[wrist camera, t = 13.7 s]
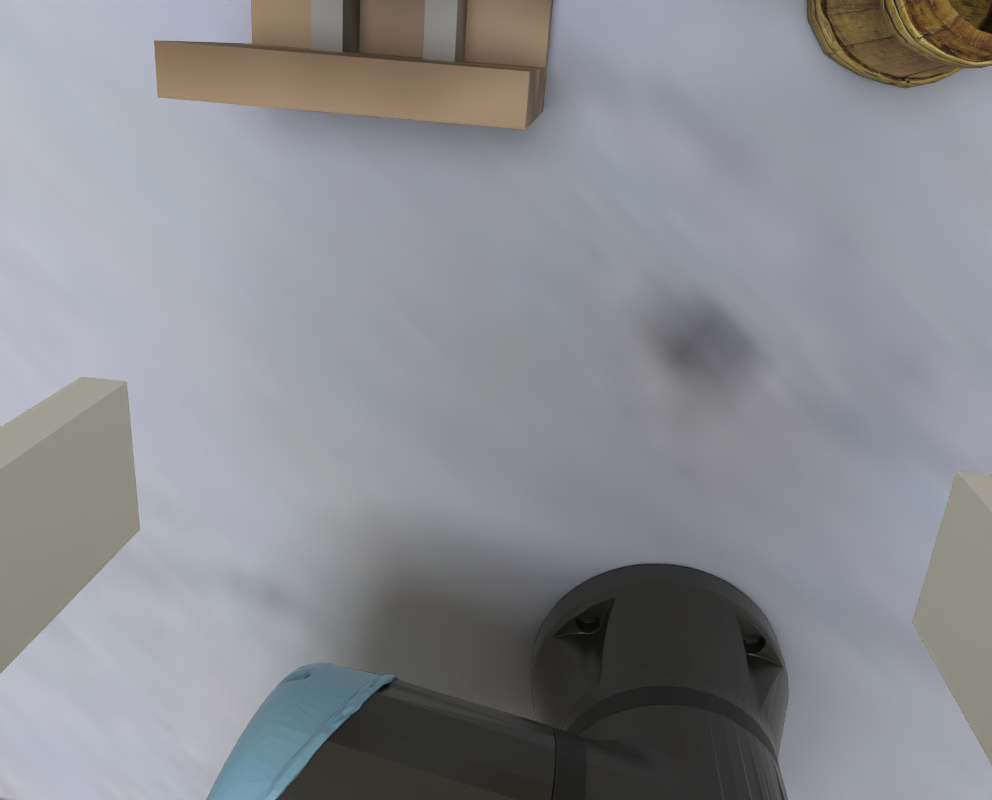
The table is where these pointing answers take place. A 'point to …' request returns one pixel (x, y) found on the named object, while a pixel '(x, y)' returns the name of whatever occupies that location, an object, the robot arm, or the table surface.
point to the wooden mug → (904, 37)
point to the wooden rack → (376, 60)
